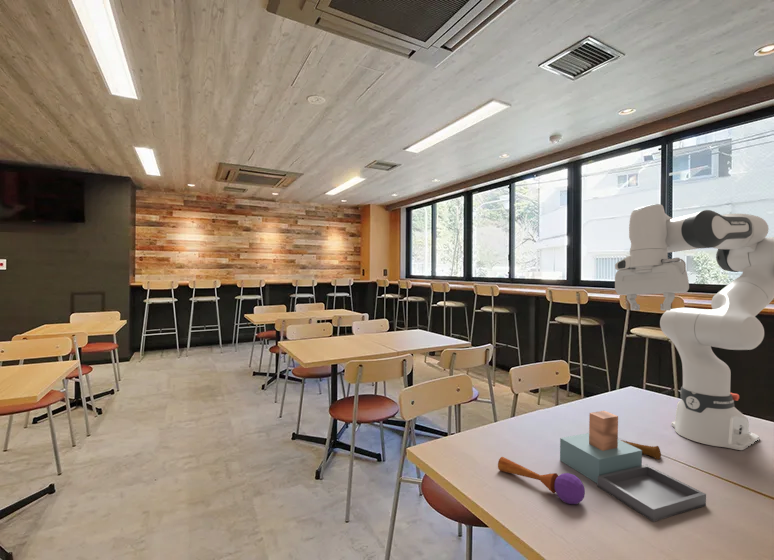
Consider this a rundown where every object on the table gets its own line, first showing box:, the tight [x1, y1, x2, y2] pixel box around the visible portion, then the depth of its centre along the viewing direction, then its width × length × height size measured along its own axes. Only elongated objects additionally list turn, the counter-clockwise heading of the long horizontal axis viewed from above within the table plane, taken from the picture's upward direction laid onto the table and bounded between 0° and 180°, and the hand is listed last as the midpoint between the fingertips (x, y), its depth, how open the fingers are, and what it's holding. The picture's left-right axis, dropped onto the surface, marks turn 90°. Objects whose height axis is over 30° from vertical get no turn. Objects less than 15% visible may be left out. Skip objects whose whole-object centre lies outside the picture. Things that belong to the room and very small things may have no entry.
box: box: [597, 464, 707, 522], centre depth 84 cm, size 16×13×2 cm
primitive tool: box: [620, 439, 662, 460], centre depth 108 cm, size 19×6×4 cm, turn 46°
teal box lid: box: [559, 432, 643, 485], centre depth 96 cm, size 14×12×6 cm
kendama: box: [497, 456, 586, 505], centre depth 87 cm, size 6×6×20 cm
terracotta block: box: [588, 410, 619, 451], centre depth 95 cm, size 5×4×8 cm
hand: (649, 310), depth 105 cm, fingers open, 8 cm apart
